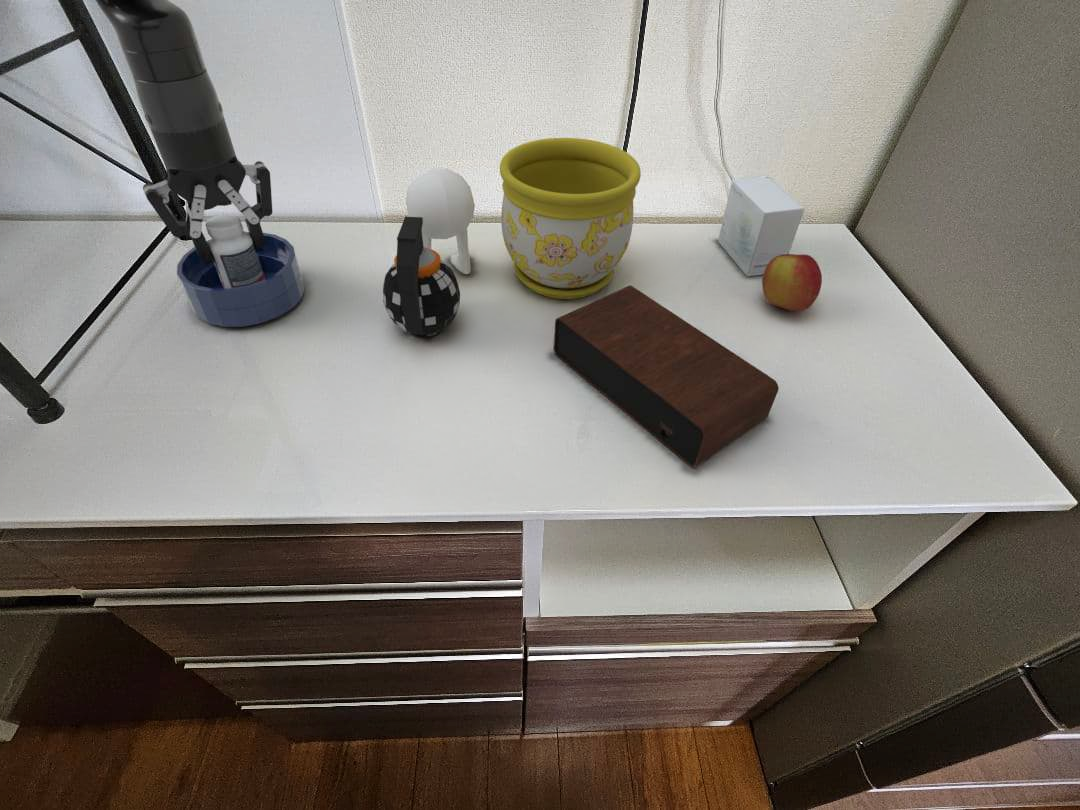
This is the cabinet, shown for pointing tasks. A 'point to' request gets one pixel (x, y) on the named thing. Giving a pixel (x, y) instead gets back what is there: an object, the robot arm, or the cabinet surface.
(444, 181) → the toy character
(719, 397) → the alarm clock
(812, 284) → the apple
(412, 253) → the grenade
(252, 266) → the pill bottle
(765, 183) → the cosmetics box
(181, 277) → the basin
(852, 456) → the cabinet surface
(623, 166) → the flowerpot
